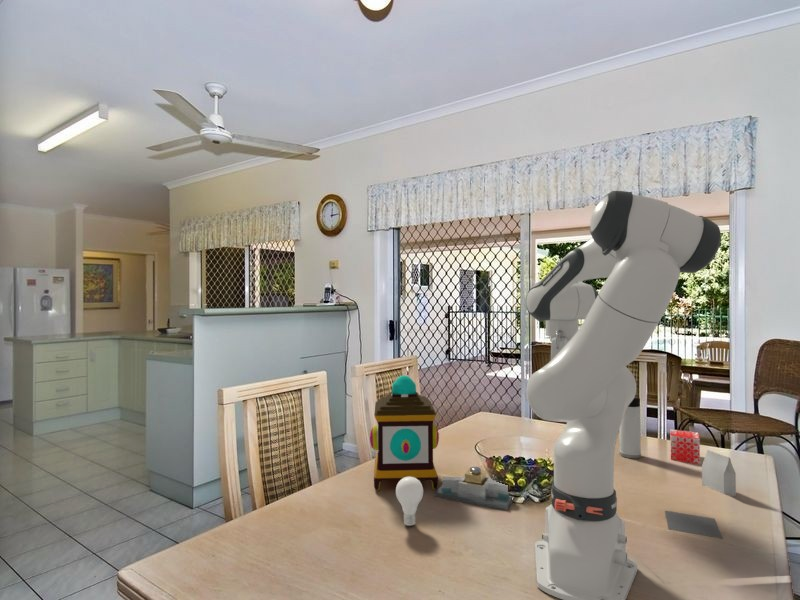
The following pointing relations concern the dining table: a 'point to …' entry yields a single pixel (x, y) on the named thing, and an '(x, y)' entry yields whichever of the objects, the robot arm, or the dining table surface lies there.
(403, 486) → the lightbulb
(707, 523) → the rubber mat
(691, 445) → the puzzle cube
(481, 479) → the block
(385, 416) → the decorative lantern
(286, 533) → the dining table surface
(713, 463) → the white house block
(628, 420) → the travel mug
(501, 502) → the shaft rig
